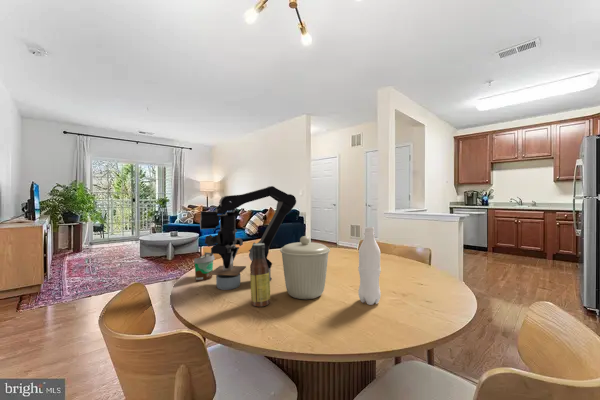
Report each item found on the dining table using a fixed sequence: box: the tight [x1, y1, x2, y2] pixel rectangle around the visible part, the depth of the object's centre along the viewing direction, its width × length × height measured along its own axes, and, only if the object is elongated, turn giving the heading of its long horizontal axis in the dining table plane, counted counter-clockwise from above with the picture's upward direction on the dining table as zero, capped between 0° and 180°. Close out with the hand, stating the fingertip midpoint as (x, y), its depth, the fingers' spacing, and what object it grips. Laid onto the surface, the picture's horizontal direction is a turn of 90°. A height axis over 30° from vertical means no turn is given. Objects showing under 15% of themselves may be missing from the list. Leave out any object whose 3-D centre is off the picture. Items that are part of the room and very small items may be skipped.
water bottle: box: [357, 226, 382, 306], centre depth 91 cm, size 7×7×25 cm
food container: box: [193, 252, 215, 283], centre depth 118 cm, size 12×6×10 cm, turn 179°
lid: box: [209, 256, 247, 276], centre depth 107 cm, size 11×11×6 cm
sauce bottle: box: [249, 242, 271, 308], centre depth 89 cm, size 6×6×20 cm
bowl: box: [215, 273, 241, 291], centre depth 107 cm, size 9×9×4 cm
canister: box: [279, 235, 331, 300], centre depth 98 cm, size 18×18×21 cm
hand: (228, 267), depth 107 cm, fingers closed on lid, 3 cm apart
